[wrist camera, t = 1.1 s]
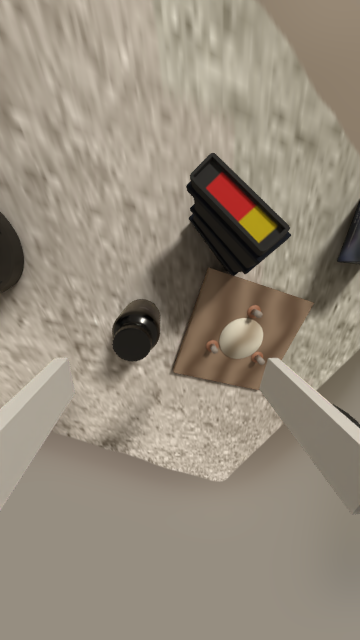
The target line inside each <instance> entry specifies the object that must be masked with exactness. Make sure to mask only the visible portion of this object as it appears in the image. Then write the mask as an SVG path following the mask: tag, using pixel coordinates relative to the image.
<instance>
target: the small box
mask: <svg viewBox="0 0 360 640" xmlns="http://www.w3.org/2000/svg"><path fill="white" fill-rule="evenodd" d="M337 261H338V262H345V263H356V264H360V202H359V205H358V208H357V210H356V213H355V216H354V218H353V221H352V224H351V226H350V229H349V232H348V234H347V237H346V239H345V242H344V245H343V247H342V250H341V253H340V255H339V258H338V260H337Z"/></svg>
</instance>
